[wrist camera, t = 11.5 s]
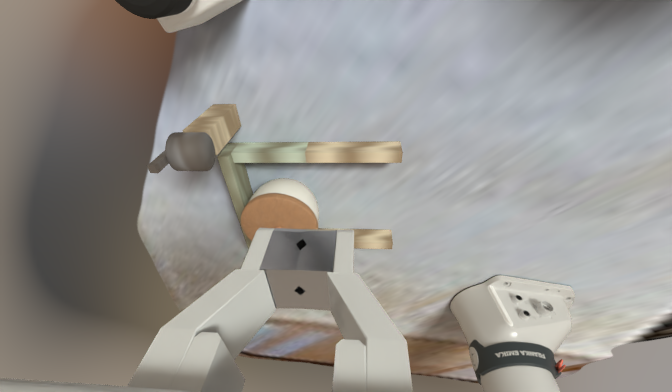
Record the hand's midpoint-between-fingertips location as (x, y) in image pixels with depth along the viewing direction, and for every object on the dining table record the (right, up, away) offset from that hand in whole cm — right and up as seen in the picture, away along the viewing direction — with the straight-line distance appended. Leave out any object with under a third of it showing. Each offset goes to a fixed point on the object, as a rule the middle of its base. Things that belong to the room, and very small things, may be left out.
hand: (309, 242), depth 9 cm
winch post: (-14, +12, +29) cm, 34 cm away
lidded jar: (-6, +2, +36) cm, 37 cm away
